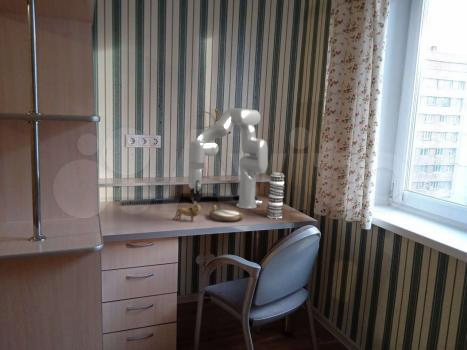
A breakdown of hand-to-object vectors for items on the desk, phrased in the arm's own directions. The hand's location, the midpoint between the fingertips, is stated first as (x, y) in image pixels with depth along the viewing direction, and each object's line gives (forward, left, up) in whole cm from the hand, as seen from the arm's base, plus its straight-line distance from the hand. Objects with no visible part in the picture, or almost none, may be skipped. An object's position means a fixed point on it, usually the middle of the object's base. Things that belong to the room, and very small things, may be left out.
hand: (194, 199), depth 188 cm
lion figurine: (+3, -2, -12) cm, 12 cm away
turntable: (-18, -4, -12) cm, 22 cm away
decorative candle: (-46, -3, -12) cm, 48 cm away
